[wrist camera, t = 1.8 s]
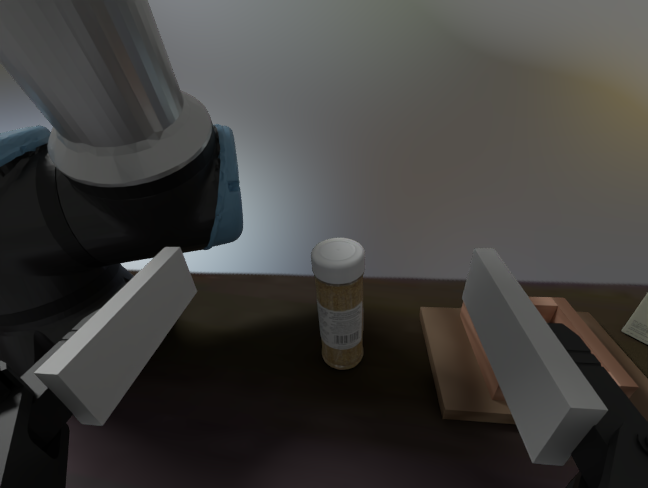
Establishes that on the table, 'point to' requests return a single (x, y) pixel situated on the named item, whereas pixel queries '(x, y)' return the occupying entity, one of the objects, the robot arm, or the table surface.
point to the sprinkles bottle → (340, 300)
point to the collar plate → (477, 374)
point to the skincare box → (639, 322)
